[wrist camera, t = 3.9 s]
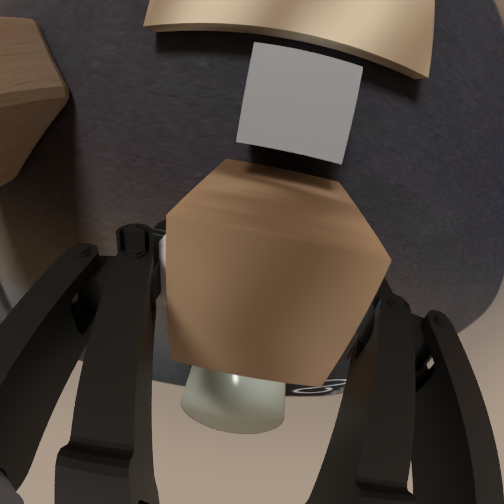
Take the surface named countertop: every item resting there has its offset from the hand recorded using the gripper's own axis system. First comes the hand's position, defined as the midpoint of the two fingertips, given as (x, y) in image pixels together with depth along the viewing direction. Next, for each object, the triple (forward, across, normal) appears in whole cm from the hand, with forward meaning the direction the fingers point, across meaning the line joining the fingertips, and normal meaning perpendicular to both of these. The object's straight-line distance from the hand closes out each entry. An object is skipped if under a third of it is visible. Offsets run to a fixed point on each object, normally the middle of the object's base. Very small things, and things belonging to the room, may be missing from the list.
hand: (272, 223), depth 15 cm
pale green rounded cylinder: (0, 0, -9) cm, 9 cm away
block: (0, -20, +7) cm, 21 cm away
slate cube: (0, 0, +6) cm, 7 cm away
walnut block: (0, 0, 0) cm, 0 cm away
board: (0, -1, +16) cm, 16 cm away
